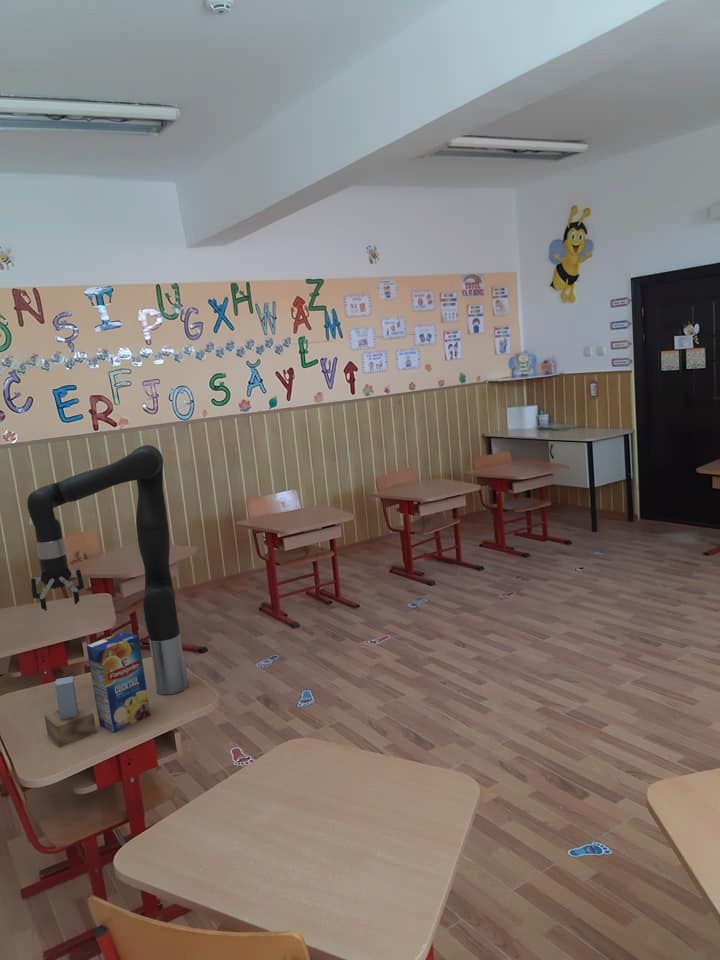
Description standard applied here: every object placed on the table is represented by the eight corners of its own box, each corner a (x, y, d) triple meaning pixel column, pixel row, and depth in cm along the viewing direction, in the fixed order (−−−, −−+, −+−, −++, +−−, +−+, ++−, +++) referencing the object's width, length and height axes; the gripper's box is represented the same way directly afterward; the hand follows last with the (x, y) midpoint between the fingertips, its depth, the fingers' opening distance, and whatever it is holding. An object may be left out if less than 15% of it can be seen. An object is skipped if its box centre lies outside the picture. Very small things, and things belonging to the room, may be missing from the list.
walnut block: (83, 721, 214) (80, 702, 213) (96, 733, 206) (93, 713, 205) (47, 735, 208) (44, 715, 207) (60, 747, 200) (56, 727, 199)
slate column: (77, 709, 208) (72, 676, 207) (77, 716, 204) (72, 682, 203) (61, 713, 207) (56, 679, 205) (60, 719, 203) (55, 685, 201)
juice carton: (136, 708, 219) (124, 631, 215) (150, 714, 214) (139, 635, 210) (99, 726, 210) (86, 645, 206) (113, 733, 205) (100, 650, 201)
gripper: (26, 562, 214) (36, 615, 216) (79, 552, 220) (87, 604, 222) (25, 556, 220) (34, 608, 223) (76, 547, 226) (84, 598, 229)
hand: (61, 606), depth 223 cm, fingers open, 8 cm apart
